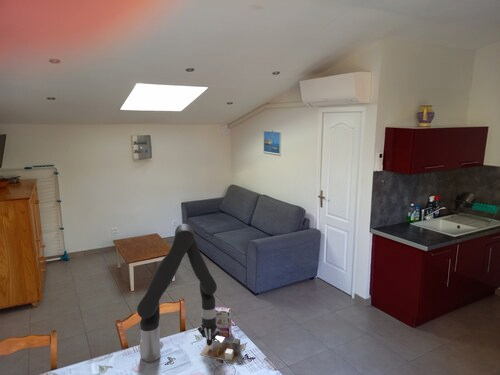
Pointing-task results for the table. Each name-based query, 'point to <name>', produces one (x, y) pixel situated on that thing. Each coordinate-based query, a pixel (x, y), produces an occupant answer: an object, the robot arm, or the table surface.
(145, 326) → the robot arm
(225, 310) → the candy bar box
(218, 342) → the cube with orange peg
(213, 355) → the tan rectangular open box
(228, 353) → the matte white cube
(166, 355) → the table surface
